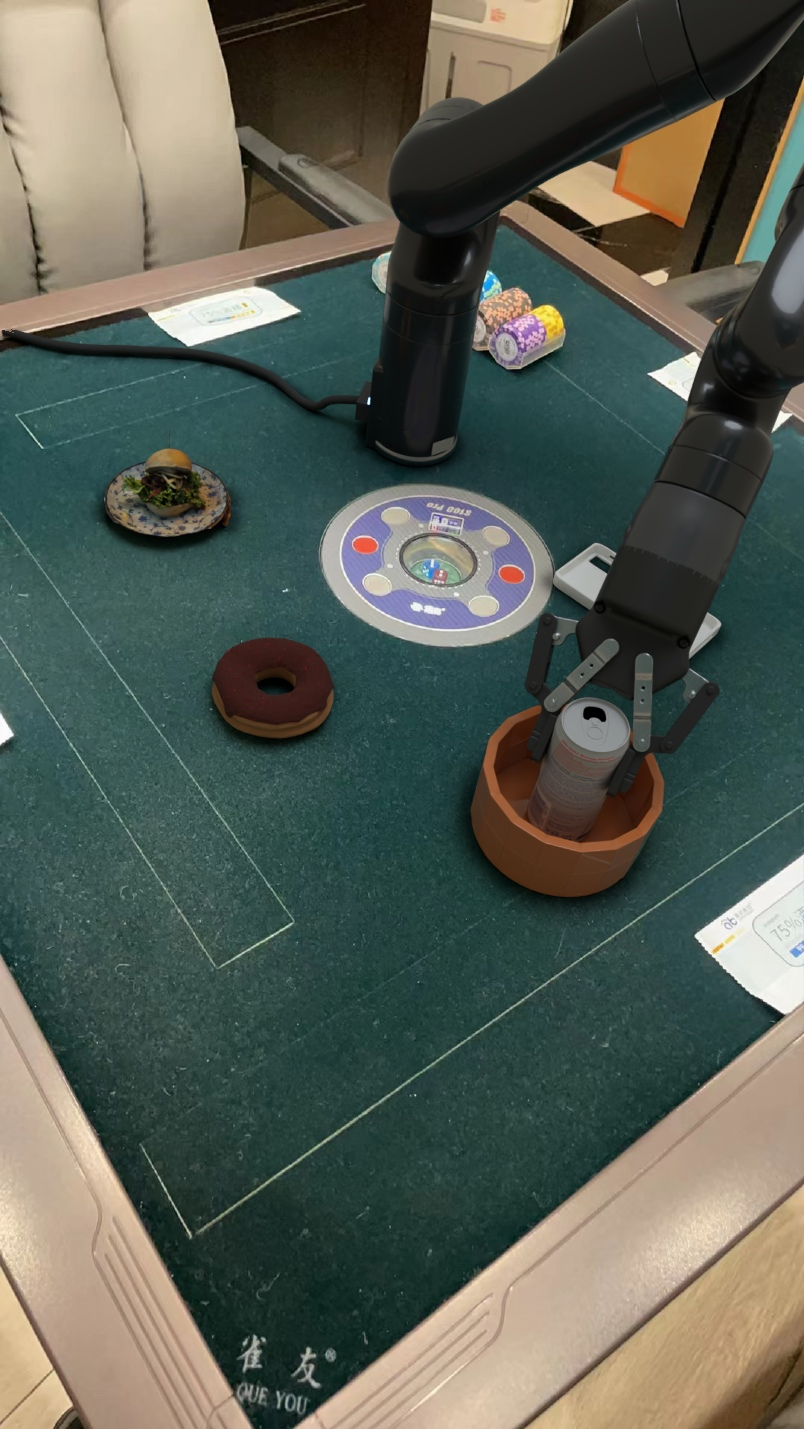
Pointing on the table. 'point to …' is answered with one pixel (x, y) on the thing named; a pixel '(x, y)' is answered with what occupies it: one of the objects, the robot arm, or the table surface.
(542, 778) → the energy drink
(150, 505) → the burger
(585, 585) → the phone case
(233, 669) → the donut
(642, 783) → the bowl
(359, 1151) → the table surface
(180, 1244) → the table surface
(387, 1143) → the table surface
